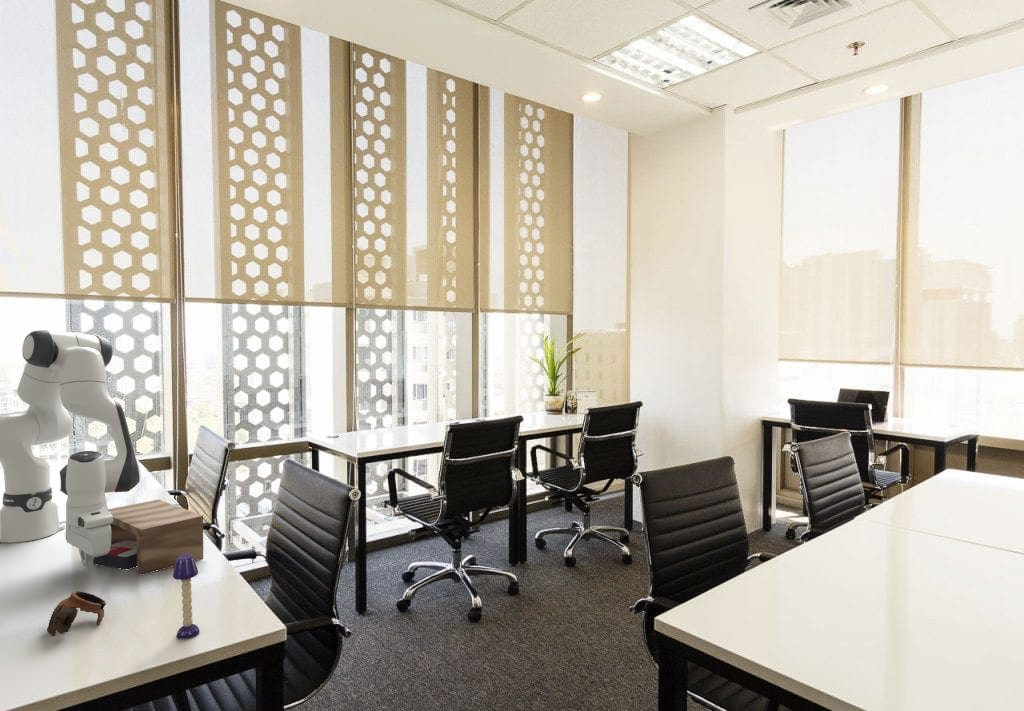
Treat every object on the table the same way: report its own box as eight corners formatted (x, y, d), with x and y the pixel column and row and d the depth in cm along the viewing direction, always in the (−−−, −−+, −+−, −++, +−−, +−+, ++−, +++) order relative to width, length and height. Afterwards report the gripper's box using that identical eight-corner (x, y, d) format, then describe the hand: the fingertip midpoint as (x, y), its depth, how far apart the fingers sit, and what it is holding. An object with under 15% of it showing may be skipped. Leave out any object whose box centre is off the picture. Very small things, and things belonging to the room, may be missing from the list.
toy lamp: (193, 640, 126) (192, 560, 125) (169, 640, 125) (168, 560, 125) (202, 629, 131) (202, 551, 130) (180, 629, 130) (179, 552, 130)
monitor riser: (100, 552, 177) (99, 510, 176) (159, 537, 189) (158, 499, 189) (141, 575, 160) (141, 529, 159) (203, 557, 172) (203, 515, 172)
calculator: (124, 538, 179) (162, 542, 173) (125, 553, 179) (163, 557, 173) (87, 550, 168) (126, 554, 163) (87, 566, 168) (126, 571, 163)
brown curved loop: (54, 623, 134) (77, 586, 137) (95, 639, 135) (118, 602, 138) (26, 634, 123) (52, 593, 125) (72, 652, 124) (97, 611, 126)
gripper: (58, 509, 165) (58, 560, 166) (88, 523, 153) (88, 578, 153) (85, 504, 170) (85, 553, 171) (116, 517, 158) (116, 570, 159)
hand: (87, 565), depth 162 cm, fingers closed
